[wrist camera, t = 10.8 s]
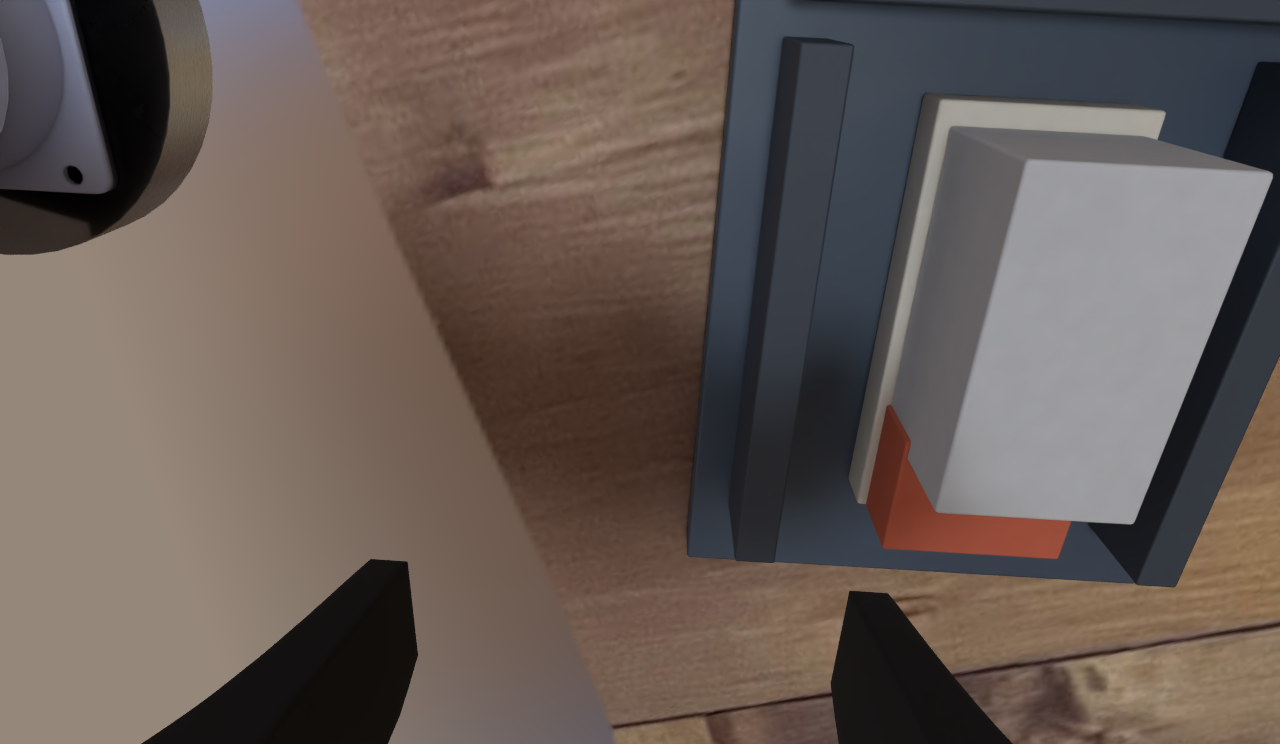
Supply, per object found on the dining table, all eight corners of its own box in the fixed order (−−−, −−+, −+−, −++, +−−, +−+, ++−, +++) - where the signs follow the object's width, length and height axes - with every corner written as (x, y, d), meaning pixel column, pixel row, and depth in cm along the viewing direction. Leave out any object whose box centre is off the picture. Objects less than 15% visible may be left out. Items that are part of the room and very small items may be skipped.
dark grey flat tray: (1117, 562, 23) (1188, 650, 20) (686, 535, 23) (688, 619, 20) (1358, -40, 16) (1525, -50, 13) (741, -71, 16) (758, -89, 13)
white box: (1016, 488, 21) (1110, 622, 16) (847, 479, 21) (895, 608, 16) (1136, 103, 17) (1309, 141, 12) (923, 92, 17) (1017, 125, 12)
